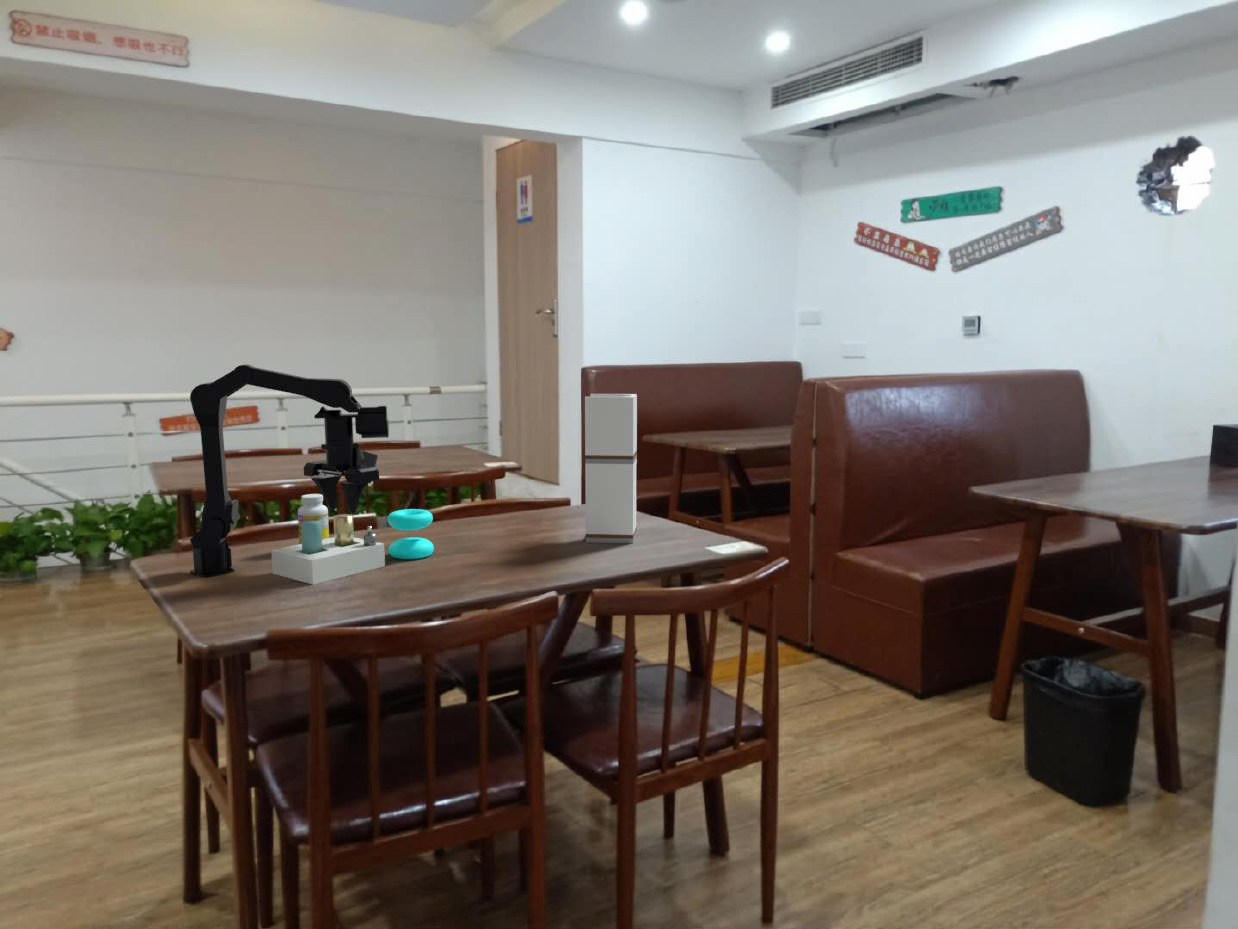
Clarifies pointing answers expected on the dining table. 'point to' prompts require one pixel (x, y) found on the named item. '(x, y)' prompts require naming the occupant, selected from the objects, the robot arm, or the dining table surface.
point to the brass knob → (343, 530)
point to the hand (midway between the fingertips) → (342, 511)
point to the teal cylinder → (311, 537)
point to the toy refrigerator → (610, 467)
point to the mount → (327, 561)
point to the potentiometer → (369, 538)
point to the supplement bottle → (313, 513)
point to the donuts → (412, 545)
